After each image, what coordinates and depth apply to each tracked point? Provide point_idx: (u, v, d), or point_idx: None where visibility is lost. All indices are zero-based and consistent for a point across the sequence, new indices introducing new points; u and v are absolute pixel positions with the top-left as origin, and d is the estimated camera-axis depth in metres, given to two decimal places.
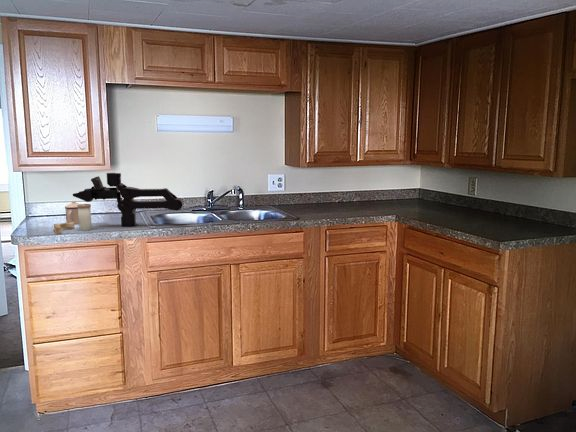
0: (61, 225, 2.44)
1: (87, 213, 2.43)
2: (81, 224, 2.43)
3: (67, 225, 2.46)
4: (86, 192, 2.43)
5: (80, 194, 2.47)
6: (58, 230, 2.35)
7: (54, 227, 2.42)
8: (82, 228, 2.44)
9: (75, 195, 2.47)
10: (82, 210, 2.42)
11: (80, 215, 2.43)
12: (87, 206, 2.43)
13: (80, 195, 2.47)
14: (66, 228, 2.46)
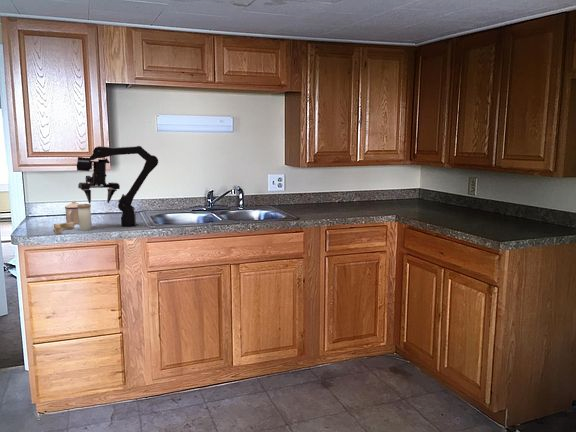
0: (61, 225, 2.44)
1: (87, 213, 2.43)
2: (81, 224, 2.43)
3: (67, 225, 2.46)
4: (78, 186, 2.46)
5: (87, 195, 2.47)
6: (58, 230, 2.35)
7: (54, 227, 2.42)
8: (82, 228, 2.44)
9: (88, 200, 2.48)
10: (82, 210, 2.42)
11: (80, 215, 2.43)
12: (87, 206, 2.43)
13: (87, 195, 2.47)
14: (66, 228, 2.46)
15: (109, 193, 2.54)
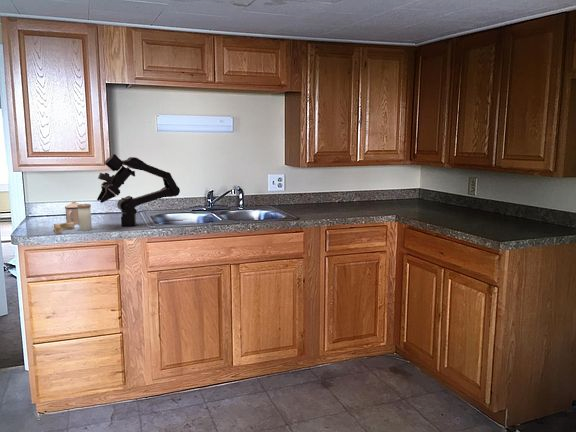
0: (61, 225, 2.44)
1: (87, 213, 2.43)
2: (81, 224, 2.43)
3: (67, 225, 2.46)
4: (111, 188, 2.41)
5: (106, 195, 2.44)
6: (58, 230, 2.35)
7: (54, 227, 2.42)
8: (82, 228, 2.44)
9: (103, 200, 2.44)
10: (82, 210, 2.42)
11: (80, 215, 2.43)
12: (87, 206, 2.43)
13: (107, 196, 2.44)
14: (66, 228, 2.46)
15: (105, 193, 2.54)
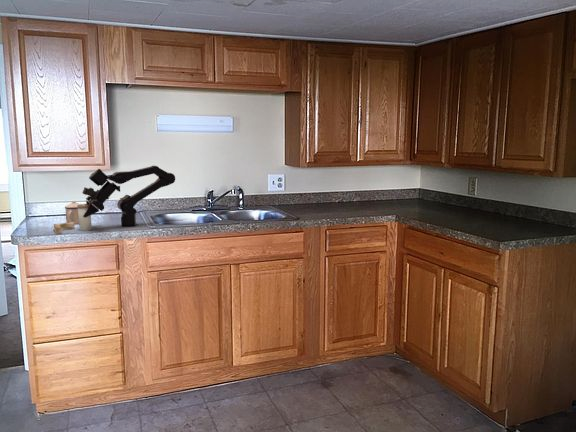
0: (61, 225, 2.44)
1: None
2: (81, 224, 2.43)
3: (67, 225, 2.46)
4: (95, 204, 2.38)
5: (89, 210, 2.42)
6: (58, 230, 2.35)
7: (54, 227, 2.42)
8: (82, 228, 2.44)
9: (86, 215, 2.42)
10: (82, 210, 2.42)
11: (80, 215, 2.43)
12: (87, 206, 2.43)
13: (90, 211, 2.43)
14: (66, 228, 2.46)
15: None
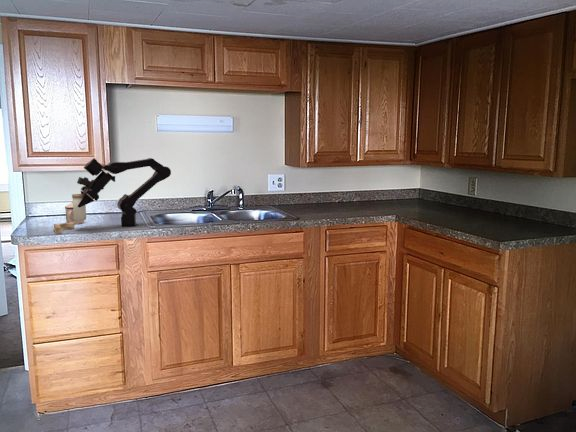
0: (61, 225, 2.44)
1: None
2: (75, 214, 2.42)
3: (67, 225, 2.46)
4: (89, 193, 2.36)
5: (84, 200, 2.40)
6: (58, 230, 2.35)
7: (54, 227, 2.42)
8: (76, 218, 2.42)
9: (81, 205, 2.41)
10: (76, 200, 2.40)
11: (74, 205, 2.41)
12: (82, 196, 2.41)
13: (85, 201, 2.41)
14: (66, 228, 2.46)
15: None
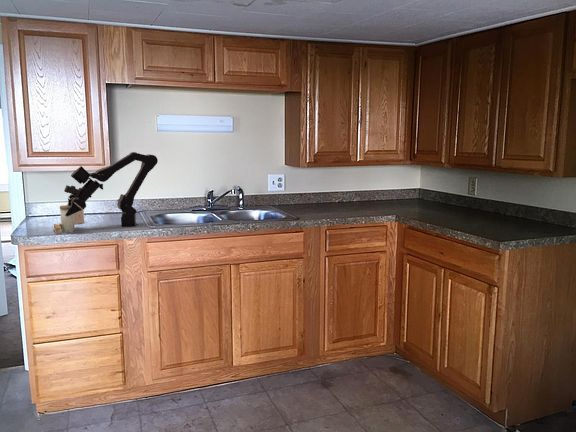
0: None
1: None
2: (63, 225, 2.40)
3: None
4: (76, 202, 2.34)
5: (72, 209, 2.37)
6: (58, 230, 2.35)
7: (54, 227, 2.42)
8: (64, 230, 2.40)
9: (68, 214, 2.37)
10: (64, 212, 2.38)
11: (62, 216, 2.39)
12: (69, 207, 2.39)
13: (72, 210, 2.37)
14: None
15: None
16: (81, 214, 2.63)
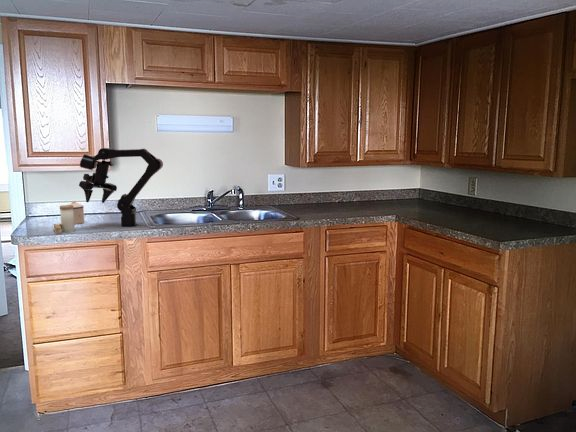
0: None
1: (69, 215, 2.40)
2: (63, 225, 2.40)
3: None
4: (80, 185, 2.46)
5: (86, 194, 2.49)
6: (58, 230, 2.35)
7: (54, 227, 2.42)
8: (64, 230, 2.40)
9: (87, 199, 2.49)
10: (64, 212, 2.38)
11: (62, 216, 2.39)
12: (69, 207, 2.39)
13: (87, 194, 2.49)
14: None
15: (106, 194, 2.57)
16: (81, 214, 2.63)
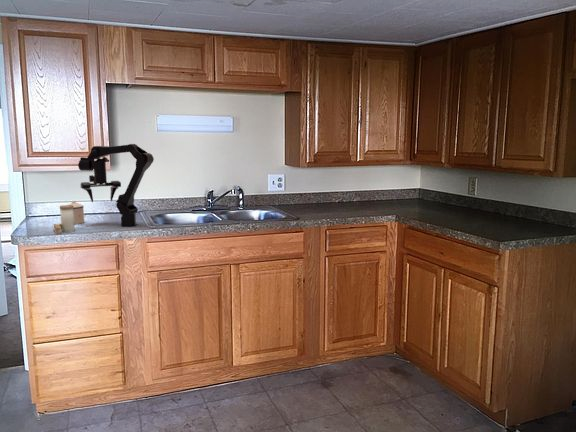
0: None
1: (69, 215, 2.40)
2: (63, 225, 2.40)
3: None
4: None
5: (89, 194, 2.55)
6: (58, 230, 2.35)
7: (54, 227, 2.42)
8: (64, 230, 2.40)
9: (91, 199, 2.55)
10: (64, 212, 2.38)
11: (62, 216, 2.39)
12: (69, 207, 2.39)
13: None
14: None
15: (111, 191, 2.59)
16: (81, 214, 2.63)
